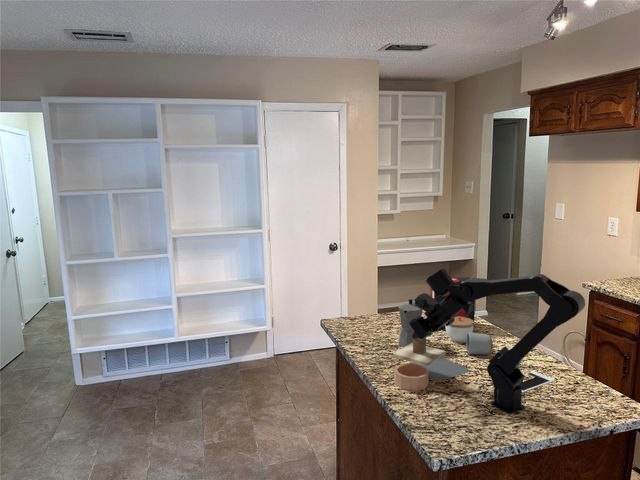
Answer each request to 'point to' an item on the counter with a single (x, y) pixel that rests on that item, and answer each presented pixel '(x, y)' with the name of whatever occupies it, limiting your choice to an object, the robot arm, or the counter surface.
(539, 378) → the cell phone
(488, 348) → the ceramic mug
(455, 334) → the lidded jar
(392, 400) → the counter surface
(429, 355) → the square lid with knob
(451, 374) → the rubber mat
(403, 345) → the coffeepot
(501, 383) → the robot arm
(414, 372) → the terracotta bowl
